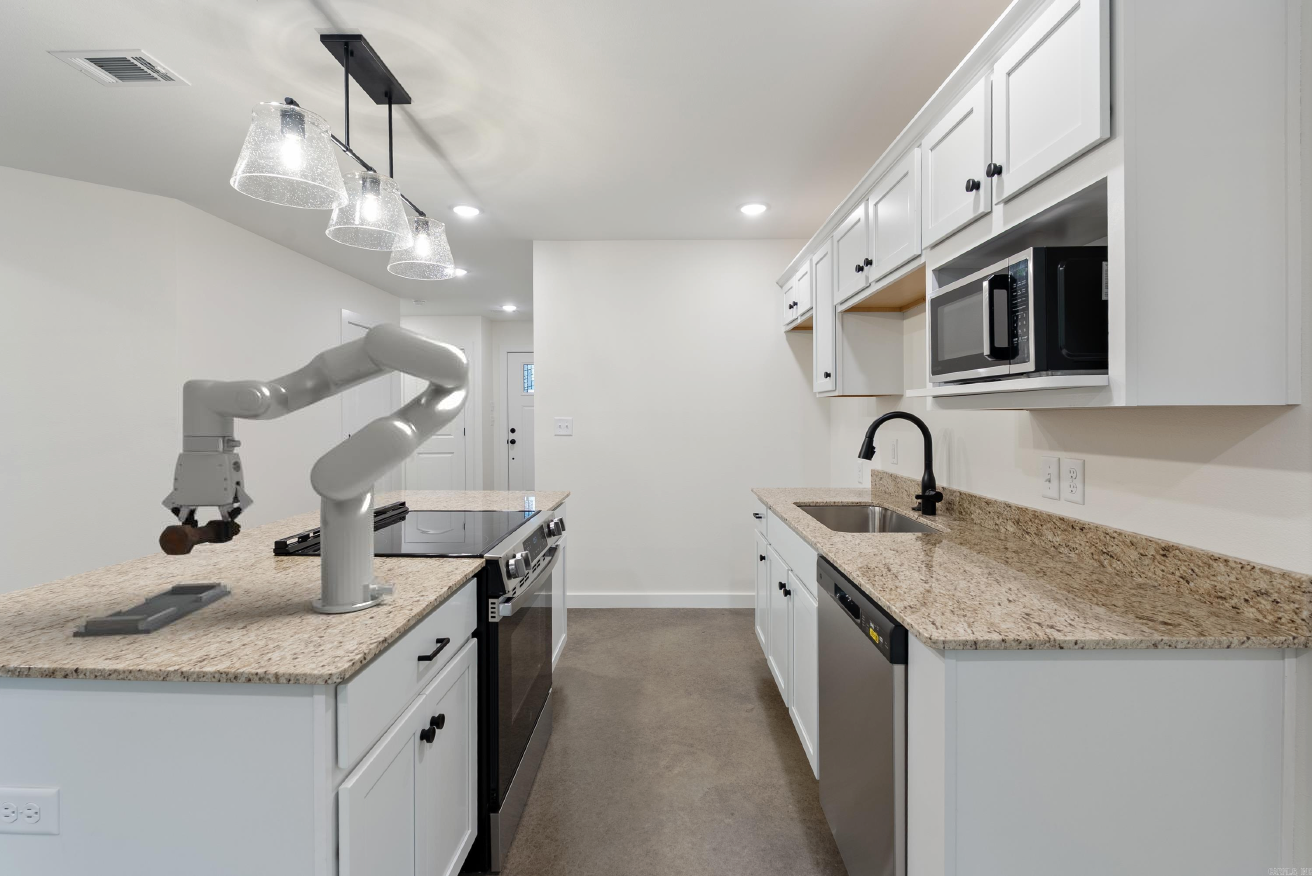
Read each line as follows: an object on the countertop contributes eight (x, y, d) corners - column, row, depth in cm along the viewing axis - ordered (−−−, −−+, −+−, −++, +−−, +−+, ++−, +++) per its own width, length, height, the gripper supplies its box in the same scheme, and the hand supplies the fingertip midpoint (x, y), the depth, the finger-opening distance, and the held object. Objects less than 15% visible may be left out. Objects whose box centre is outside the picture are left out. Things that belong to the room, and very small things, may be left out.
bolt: (237, 546, 113) (178, 562, 98) (215, 534, 113) (152, 548, 98) (253, 521, 113) (196, 533, 98) (230, 509, 113) (170, 519, 98)
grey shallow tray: (226, 590, 121) (226, 581, 121) (144, 629, 99) (144, 618, 98) (173, 592, 120) (173, 583, 120) (78, 632, 97) (77, 621, 97)
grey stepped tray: (231, 593, 121) (231, 590, 121) (150, 633, 99) (149, 628, 99) (169, 596, 120) (169, 592, 120) (73, 636, 97) (72, 632, 97)
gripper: (269, 445, 111) (268, 537, 111) (171, 444, 108) (171, 538, 108) (247, 447, 103) (246, 545, 104) (142, 445, 101) (142, 546, 101)
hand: (208, 540), depth 106 cm, fingers closed on bolt, 5 cm apart
